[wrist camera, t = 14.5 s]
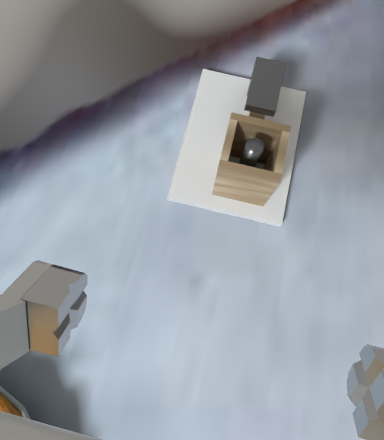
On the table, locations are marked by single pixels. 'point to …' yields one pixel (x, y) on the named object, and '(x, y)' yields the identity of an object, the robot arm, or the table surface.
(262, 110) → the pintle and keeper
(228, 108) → the base plate
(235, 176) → the wooden pencil holder
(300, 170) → the table surface
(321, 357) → the table surface
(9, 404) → the pie
